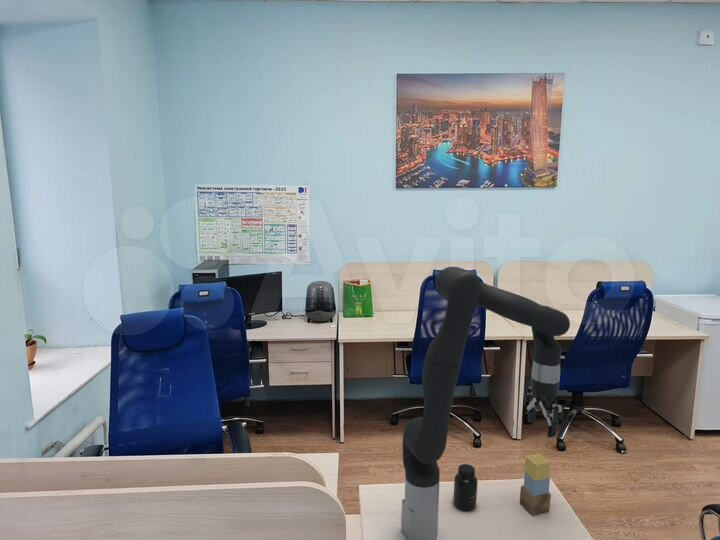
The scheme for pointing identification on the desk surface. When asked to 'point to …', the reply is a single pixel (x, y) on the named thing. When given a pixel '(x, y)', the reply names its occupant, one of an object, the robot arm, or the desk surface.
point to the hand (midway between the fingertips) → (540, 429)
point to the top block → (537, 466)
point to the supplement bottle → (465, 488)
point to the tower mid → (536, 485)
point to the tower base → (534, 502)
